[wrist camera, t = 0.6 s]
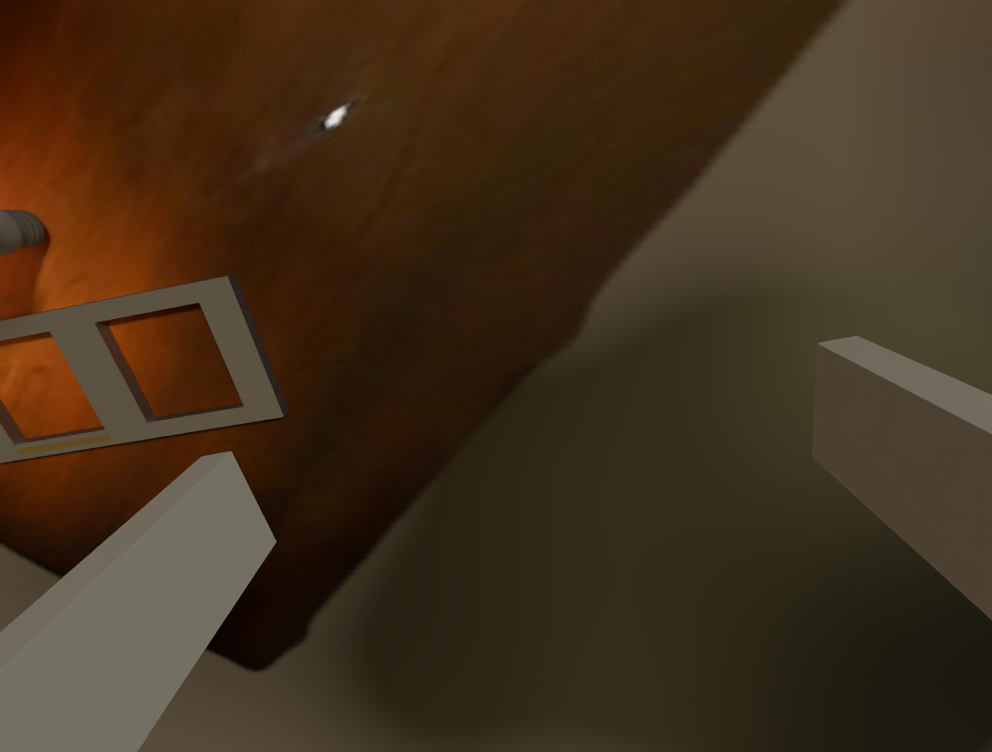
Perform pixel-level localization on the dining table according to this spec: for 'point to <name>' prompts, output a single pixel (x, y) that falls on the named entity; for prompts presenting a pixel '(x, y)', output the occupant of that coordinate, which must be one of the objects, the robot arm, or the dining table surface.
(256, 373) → the grey window frame
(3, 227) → the lightbulb
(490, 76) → the dining table surface
